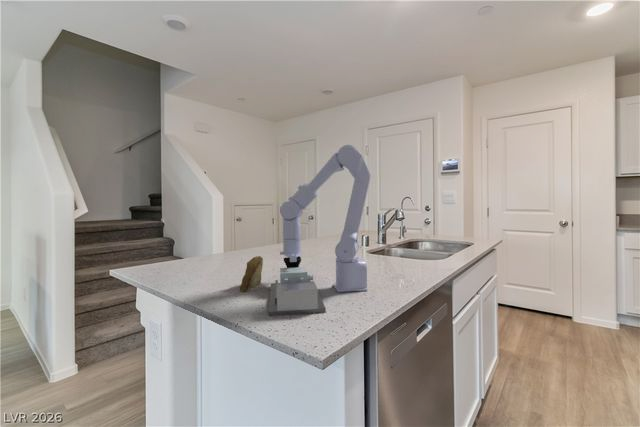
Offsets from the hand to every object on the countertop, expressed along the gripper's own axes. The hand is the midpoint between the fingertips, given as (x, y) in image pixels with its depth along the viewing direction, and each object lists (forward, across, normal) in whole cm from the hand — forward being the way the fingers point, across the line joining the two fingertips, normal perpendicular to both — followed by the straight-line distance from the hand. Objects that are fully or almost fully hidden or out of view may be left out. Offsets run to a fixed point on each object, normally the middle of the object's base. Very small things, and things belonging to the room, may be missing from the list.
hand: (292, 279), depth 100 cm
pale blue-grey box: (+1, +7, +1) cm, 7 cm away
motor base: (+2, +13, 0) cm, 13 cm away
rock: (+2, -1, -14) cm, 14 cm away
